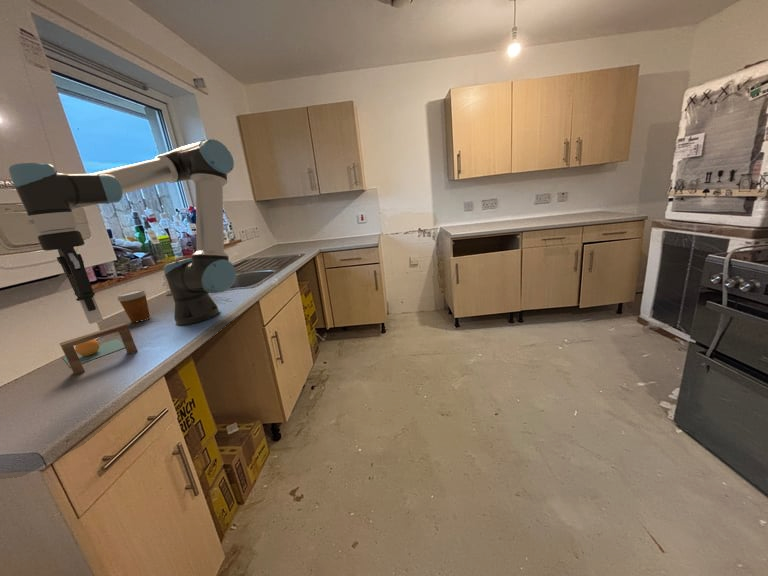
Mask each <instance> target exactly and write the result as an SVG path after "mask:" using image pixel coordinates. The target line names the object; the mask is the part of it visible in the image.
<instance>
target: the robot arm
mask: <svg viewBox="0 0 768 576" xmlns="http://www.w3.org/2000/svg"><path fill="white" fill-rule="evenodd" d="M234 166H235V162H234V158H233V155H232V153H231V152H230V150H229V149H228V147H227V146H226V145H225V144H224V143H222V142H221V141H219V140H218V139H215V138H213V139H212V138H211V139H210V138H209V139H202V140H200V141H198V142H194V143H190V144H187V145H183V146H180V147H178V148H175V149H173V150H171V151H168V152H165V153H162V154H158V155H156V156H155V158H154V159H150V160H145V161H142V162H137V163H133V164H127V165H124V166H120V167H116V168H115V167H114V168H110V169H107V170H103V171H102V170H101V171H97V172H94V173H61V172H60V173H59V172H58V171H57V170H56V168H55V167H54V165H52V164H51V163H43V162H23V163H22V162H20V163H15V164H12V165H10V166H9V167H8V172H9V174H10V178H11V181H12V184H13V188H15V190H16V193H17V194H18V196H19V199H20V201H21V203H22V205H23V207H24V209H25V211H26V214H27V216H28V218H29V219H28V220H26V223H27V225H32V228H33V230H34V231H35V233H37V234H38V233H39V235H38V236H37V239H38V242H39V244H40V246H41V249H42V250H43V251H47V252H48V251H55V250H57V252H58V255H59V256H57V257H56V260H57V262H58V264H60V266H61V269H62V270H63V272H64V274H65V275H66V277H67V279H68V282H69V284H70V286H71V288H72V291H73V292H74V295H75V297H76V298H75V301H77V302H79V303H80V305H81V308H82V311H83V312H84V315H85V317H86V319H87V323H88V324H89V325H92V324H94V323H98V322H101V321H104V318H103V316H102V314H101V311H100V309H99V305H98V303H97V301H96V299H95V297H94V296H96V294H95V292H94V290H93V287H92V284H91V282H90V279H89V275H88V273H87V270H86V268H85V263H84V260H83V257H82V255H81V253H77V251H76V250H75V248H74V247H81V246H84V245H85V241H84V238H83V235H82V232H81V231H79V230H77V229H78V228H79V225H78V221H77V220H76V217H75V215H74V212H73V211H72V210H74V209H75V210H76V209H79V208H86V207H90V206H95V205H103V204H107V205H109V204H114V203H120V201H121V200H122V199H123V196H124V195H125V194H129V193H132V192H135V191H136V192H137V191H139V190H143V189H146V188H149V187H152V186H153V187H154V186H156V185H159V184H163V183H170V184H174V183H177V182H183V181H189V180H190V181H193V183H194V184H195V185H194V186H195V187H194V188H195V228H196V229H195V230H196V232H195V233H196V235H195V236H196V237H195V238H196V239H195V240H196V250H195V251H194V252H193V253H192V254H191V257H189V258H184V259H181V260H176V261H173V262H170V263H166V264H165V265H164V266H163V272H164V277H165V278H166V281H167V284H168V287H169V290H170V293H171V296H172V299H173V301H174V321H175V324H176V325H179V326H185V325H186V326H187V325H191V324H196V323H200V322H203V320H204V321H207V320H209V319H211V318H210V317H212V316H214V315H216V314H217V313H218V312H219V313H220V309H219V307H218V305H217V303H215V301H214V300H213V299H212V297H211V296H210V294H219V293H224V292H226V291H228V290H229V289H231V287H232V286H233V285H234V283H235V280H236V277H237V272H236V268H235V266H233V263H232V262H231V261H229V255H228V254H227V253H226V252H225V251H224V249H225V244H224V242H225V241H224V201H223V198H224V196H223V194H224V192H223V189H224V186H225V185H226V184H227V183H228V174H230V173H231V171H233V169H234ZM219 313H218V314H219ZM218 314H217V315H218ZM217 315H216V316H217ZM214 317H215V316H214ZM208 318H209V319H208ZM212 318H213V317H212ZM206 319H207V320H206Z"/></svg>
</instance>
